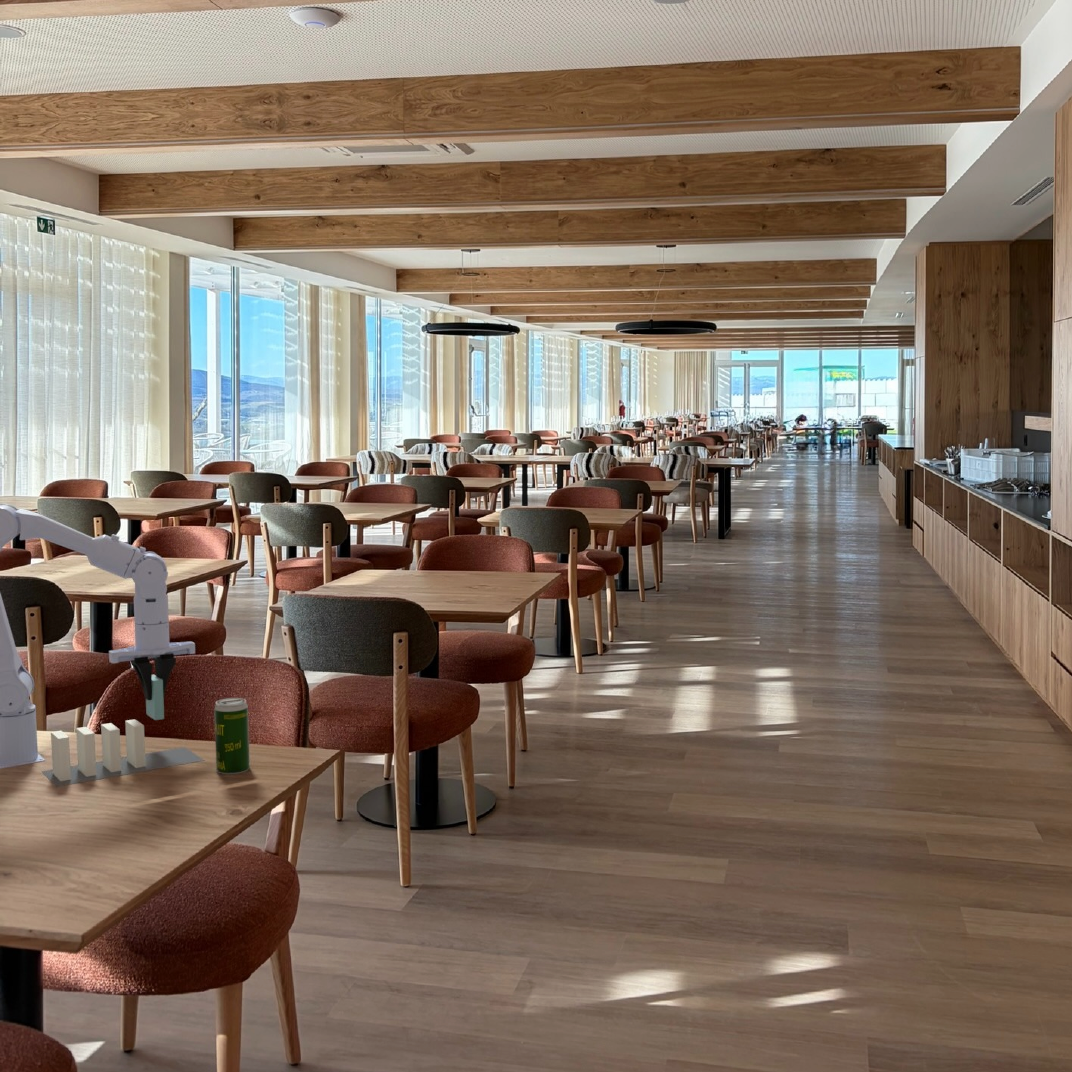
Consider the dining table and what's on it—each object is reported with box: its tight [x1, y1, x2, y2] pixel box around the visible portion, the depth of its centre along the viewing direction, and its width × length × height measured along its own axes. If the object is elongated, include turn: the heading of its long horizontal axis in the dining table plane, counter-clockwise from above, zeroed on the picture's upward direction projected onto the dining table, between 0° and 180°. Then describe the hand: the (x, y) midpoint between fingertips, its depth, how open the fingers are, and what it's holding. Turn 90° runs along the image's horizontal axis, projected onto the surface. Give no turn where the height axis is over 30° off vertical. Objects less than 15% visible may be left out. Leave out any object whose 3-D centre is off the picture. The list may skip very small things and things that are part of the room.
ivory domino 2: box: [76, 726, 97, 777], centre depth 193 cm, size 2×5×7 cm, turn 35°
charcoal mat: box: [41, 746, 205, 788], centre depth 197 cm, size 10×24×1 cm, turn 126°
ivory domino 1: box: [50, 730, 71, 781], centre depth 191 cm, size 2×5×7 cm, turn 35°
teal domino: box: [145, 674, 165, 721], centre depth 207 cm, size 2×5×7 cm, turn 35°
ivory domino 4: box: [124, 718, 146, 768], centre depth 198 cm, size 2×5×7 cm, turn 35°
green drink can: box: [213, 697, 251, 775], centre depth 194 cm, size 5×5×12 cm
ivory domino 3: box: [100, 722, 122, 772], centre depth 196 cm, size 2×5×7 cm, turn 35°
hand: (154, 698), depth 207 cm, fingers closed on teal domino, 1 cm apart
